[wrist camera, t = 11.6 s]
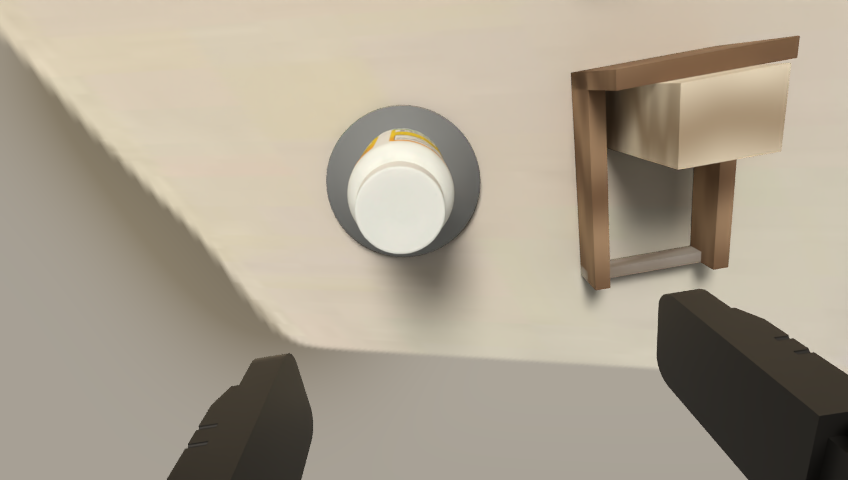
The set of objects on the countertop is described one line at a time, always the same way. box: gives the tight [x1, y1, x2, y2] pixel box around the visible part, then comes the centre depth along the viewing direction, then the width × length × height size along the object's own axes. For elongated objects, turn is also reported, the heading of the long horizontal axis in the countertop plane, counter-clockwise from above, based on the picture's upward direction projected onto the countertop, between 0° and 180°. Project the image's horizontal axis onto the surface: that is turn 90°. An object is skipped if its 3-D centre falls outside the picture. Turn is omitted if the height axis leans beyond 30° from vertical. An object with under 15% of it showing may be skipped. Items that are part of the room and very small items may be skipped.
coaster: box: [326, 105, 480, 257], centre depth 28 cm, size 10×10×1 cm
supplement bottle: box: [347, 128, 454, 254], centre depth 23 cm, size 5×5×10 cm
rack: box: [571, 36, 800, 290], centre depth 25 cm, size 14×9×8 cm, turn 10°
